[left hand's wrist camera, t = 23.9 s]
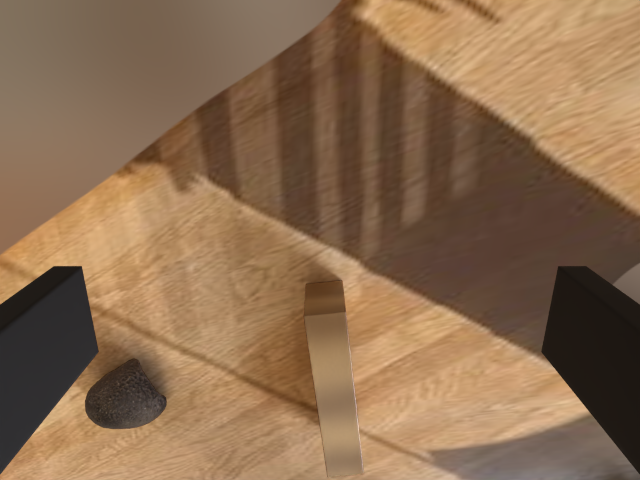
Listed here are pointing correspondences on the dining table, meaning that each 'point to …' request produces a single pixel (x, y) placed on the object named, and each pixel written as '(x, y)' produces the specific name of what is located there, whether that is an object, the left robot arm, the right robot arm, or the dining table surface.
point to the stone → (124, 399)
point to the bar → (333, 377)
